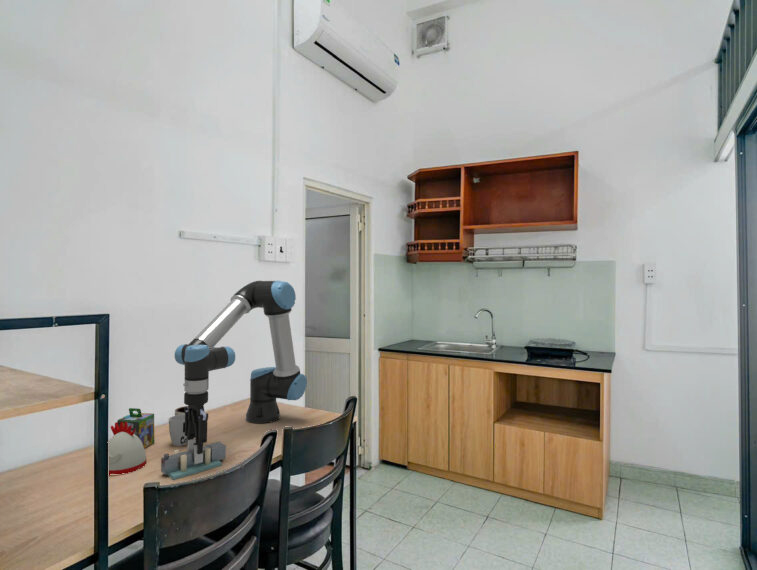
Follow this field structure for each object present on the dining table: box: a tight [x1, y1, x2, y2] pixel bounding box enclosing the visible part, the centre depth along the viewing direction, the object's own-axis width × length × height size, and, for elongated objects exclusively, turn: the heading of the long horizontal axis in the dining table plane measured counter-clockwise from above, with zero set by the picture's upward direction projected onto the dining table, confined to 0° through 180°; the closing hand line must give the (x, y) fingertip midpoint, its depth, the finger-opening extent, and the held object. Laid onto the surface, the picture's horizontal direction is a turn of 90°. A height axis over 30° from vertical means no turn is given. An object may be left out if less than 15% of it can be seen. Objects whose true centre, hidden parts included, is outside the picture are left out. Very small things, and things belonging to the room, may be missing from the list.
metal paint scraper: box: [160, 441, 227, 475], centre depth 148 cm, size 20×5×6 cm, turn 136°
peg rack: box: [166, 448, 223, 481], centre depth 147 cm, size 16×10×6 cm, turn 136°
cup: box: [168, 415, 188, 447], centre depth 169 cm, size 8×8×10 cm
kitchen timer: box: [108, 421, 147, 476], centre depth 147 cm, size 14×14×15 cm
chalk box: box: [116, 407, 155, 449], centre depth 165 cm, size 9×9×15 cm
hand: (195, 460), depth 148 cm, fingers open, 4 cm apart
